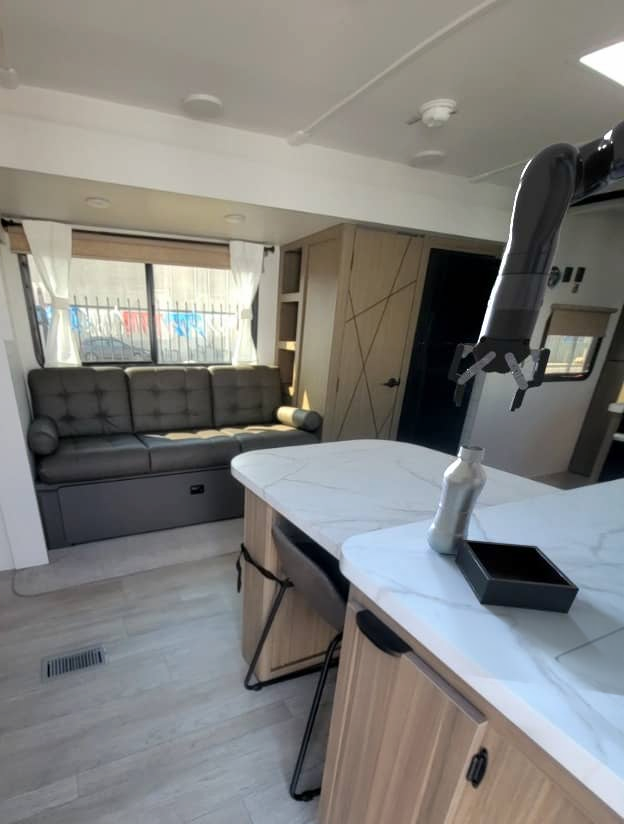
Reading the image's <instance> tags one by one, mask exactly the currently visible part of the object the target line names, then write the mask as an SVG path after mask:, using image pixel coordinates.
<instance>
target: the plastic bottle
mask: <svg viewBox="0 0 624 824" xmlns="http://www.w3.org/2000/svg"><path fill="white" fill-rule="evenodd" d="M485 453H486V449H485V448H484V447H483V446H479V445H474V444H461V445H460V447H459V451H458V453H457V457H458V459H457V460H455V461H454V462H453V463H452V464H451V465H450V466H448V467H447V469H446V470H445V472H444V473H443V477H442V478H443V480H442V490H441V496H440V502H439V505H438V509H437V512H436V514H435V516H434V519H433V522H432V523H431V524H430V526H429V529H428V531H427V536H426V537H427V538H426V542H427V543H428V546H429V547H430V548H431V549H432V550H434V551H436V552H438V553H442V554H445V555H457V552H458V548H459V545H460V542H461V539H462V540H468V538H469V527H470V522H471V518H472V514H473V511H474V509H475V507H476V505H477V501H478V499H479V497H480V495H481V494H482V492H483V489H484V487H485V486H486V483H487V474H486V471H485V469H484V467H483V465H482V463H481V462H483V461H484V459H485V457H484V456H485Z"/></svg>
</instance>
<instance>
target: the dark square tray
mask: <svg viewBox="0 0 624 824" xmlns="http://www.w3.org/2000/svg"><path fill="white" fill-rule="evenodd" d="M454 562H455V564H456V565H457V567H458V569H459V570H460V571H461V575H462V576H463V577H464V579H465V581H466V582H467V584H468V586H469V587H470V589H471V591H472V592H473V594H474V595H475V597H476V599H477V601H478V603H479V604H480V605H486V606H487V605H488V606H496V607H505V608H515V609H523V610H524V609H526V610H533V609H534V610H533V611H544V612H552V611H553V612H554V613H562V614H569V612H570V610H571V607H572V606H573V603H574V601H575V599H576V597H577V595H578V594H579V591H580V588H579V587H578V586H577V585H576V584H575V583H574V582H573V581H572V579H571V578H569V577H568V575H566V574H565V573H564V571H562V570H561V569H560V568H559V566H557V565H556V563H554V562H553V560H552V559H550V558H549V557H548V555H546V554H545V553H544V551H542V550H541V549H540V548H539V546H537V545H528V544H518V543H517V544H516V543H507V542H494V541H485V540H472V539H467V540H462V539H461V542H460V545H459V548H458V552H457V554H455V558H454ZM553 612H552V613H553Z"/></svg>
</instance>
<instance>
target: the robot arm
mask: <svg viewBox="0 0 624 824" xmlns="http://www.w3.org/2000/svg"><path fill="white" fill-rule="evenodd" d="M623 181H624V118H622V119H621V120H619V121H618V122H616V123H615V124H614V125H613V126H612V127H611V128H610V130H608V131H607V132H606V133H605V134H603V135H601V136H599V137H597V138H595V139H593V140H591V141H589V142H587V143H585V144H583V145H581V146H579V147H577V146H576V145H574V144H573V143H571V142H568V141H557V142H553V143H551V144H549V145H547V146H545V147H544V148H542V149H541V150H539V151H538V152H537V153H535V155H534V156H533V157H532V158H531V159H530V160H529V161H528V163H527V164H526V166H525V168H524V170H523V172H522V174H521V177H520V179H519V183H518V186H517V191H516V194H515V199H514V205H513V210H512V216H511V222H510V227H509V235H508V238H507V242H506V245H505V248H504V251H503V254H502V256H501V257H502V258H501V261H500V265H499V269H498V272H497V277H496V279H495V282H494V284H493V287H492V289H491V292H490V296H489V300H488V301H487V306H486V309H485V310H486V311H485V315H484V319H483V322H482V326H481V330H480V334H479V337H478V341H477V343H475V345H467V344H463V343H459V344H458V345H457V346H456V349H455V352H454V355H453V358H452V361H451V364H450V368H449V371H448V374H447V379H448V380H449V381H453V382H454V383H455V384H456V388H455V392H454V395H453V403H456V404H455V406H456V407H461V405H462V402H463V397H464V393H465V390H466V386H467V384H466V382H468V381H469V380H470V379H471V378H472V377H474V376H475V375H476V374H477V373H478V372H480V370H481V371H482V372H484V373H487V374H492V373H497V374H502V375H506V374H509V373H511V375H512V377H513V379H514V380H515V382H516V384H517V387H516V388H515V389H514V392H513V395H512V399H511V401H510V405H509V407H508V411H509V412H513V413H515V411H516V410H517V409H518V410H519V409H520V408H521V407H522V404H523V401H524V399H525V395H526V393H527V392H528V390H529V389H532V388H539V387H541V386H542V384H543V381H544V378H545V374H546V371H547V367H548V364H549V359H550V355H551V349H550V348H548V347H542V348H531V341H532V337H533V334H534V331H535V328H536V326H537V325H536V324H537V322H538V319H539V315H540V312H541V309H542V307H543V305H544V302H545V301H544V300H545V297H546V293H547V289H548V285H549V284H548V283H549V279H550V274H551V271H552V268H553V265H554V262H555V259H556V257H557V256H556V255H557V254H558V253H557V252H558V249H559V244H560V239H561V229H562V226H563V224H564V220H565V218H566V214H567V211H568V208H569V206H571V205H573V204H576V203H578V202H580V201H582V200H584V199H586V198H588V197H591V196H593V195H595V194H597V193H599V192H601V191H602V190H604V189H606V188H609V187H610V186H613V185H615V184H617V183H620V182H623ZM470 353H472V354H473V357H474V359H475V361H476V362H474V364H472V365H471V366H470V367H469V368H468V369H467V370H465V371H464V372H463V373H462V374H459V373H458V370H459V367H460V363H461V360H462V359H465V358H466V357H467V356H468V355H469V354H470ZM530 356H531V357H532V362H533V363H535V367H534V371H533V373H532V378H531V379H526V378H525V376H524V373H523V372H522V369H521V366H520V364H521V363H523V362H524V361H525V360H526V359H528V358H529V357H530Z"/></svg>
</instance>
